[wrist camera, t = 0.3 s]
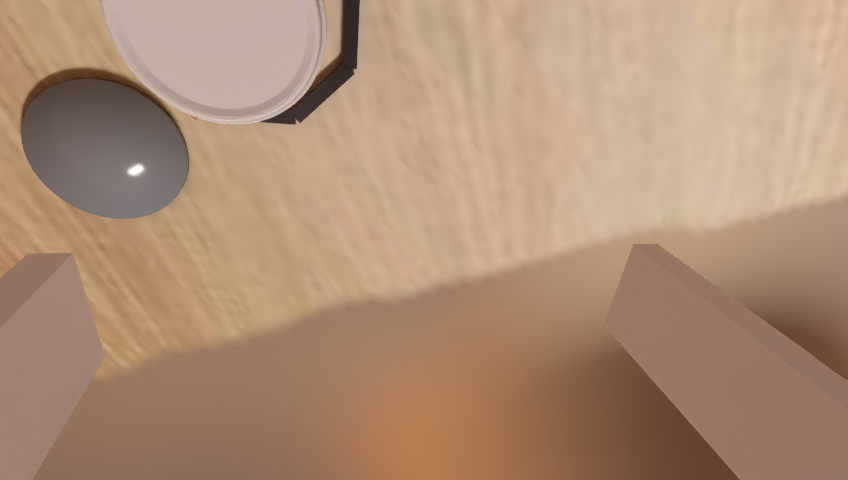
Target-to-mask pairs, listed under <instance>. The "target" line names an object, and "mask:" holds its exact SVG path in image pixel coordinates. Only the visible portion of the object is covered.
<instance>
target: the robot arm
mask: <svg viewBox="0 0 848 480" xmlns="http://www.w3.org/2000/svg"><path fill="white" fill-rule="evenodd" d="M604 325H605V327H606V328H607V329H608V330H609V331H610V332H611V333H612V335H613V336H614V337H615V338H616V339H617V340H618V341H619V343H620V344H621V345H622V346H623V347H624V348H625V349H626V350H627V352H628V353H629V354H630V355H631V356H632V357H633V358H634V360H635V361H636V362H637V363H638V364H639V365H640V366H641V368H642V369H643V370H644V371H645V372H646V373H647V374H648V376H650V378H651V379H652V380H653V381H654V382H655V383H656V385H657V386H658V387H659V388H660V389H661V390H662V391H663V393H664V394H665V395H666V396H667V397H668V398H669V399H670V401H672V403H673V404H674V405H675V406H676V407H677V408H678V410H679V411H680V412H681V413H682V414H683V415H684V416H685V418H686V419H687V420H688V421H689V422H690V423H691V424H692V425H693V427H694V428H695V429H696V430H697V431H698V432H699V433H700V435H701V436H702V437H703V438H704V439H705V440H706V441H707V443H708V444H709V445H710V446H711V447H712V448H713V449H714V451H716V453H717V454H718V455H719V456H720V457H721V458H722V459H723V461H724V462H725V463H726V464H727V465H728V466H729V468H730V469H731V470H732V471H733V472H734V473H735V474H736V476H737V477H738V478H739V479H740V480H848V381H847V380H846V379H845V378H844V377H843V376H841V375H840V374H838V373H837V372H835V371H834V370H833V369H831V368H830V367H829V366H827V365H826V364H824V363H823V362H822V361H820V360H819V359H817V358H815V357H814V356H812V355H811V354H810V353H808V352H807V351H805V350H804V349H803V348H801V347H800V346H798V345H797V344H795V343H794V342H793V341H792V340H790V339H789V338H787V337H786V336H785V335H783V334H782V333H780V332H779V331H777V330H776V329H775V328H773V327H772V326H771V325H769V324H768V323H766V322H765V321H764V320H762V319H761V318H760V317H758V316H757V315H755V314H754V313H753V312H751V311H750V310H748V309H747V308H746V307H744V306H743V305H741V304H740V303H738V302H737V301H736V300H735V299H733V298H732V297H730V296H729V295H727V294H726V293H725V292H723V291H722V290H721V289H719V288H718V287H716V286H715V285H713V284H712V283H710V282H709V281H708V280H707V279H705V278H704V277H703V276H701V275H700V274H698V273H697V272H696V271H694V270H693V269H691V268H690V267H689V266H687V265H686V264H684V263H683V262H682V261H680V260H679V259H677V258H676V257H675V256H673V255H672V254H670V253H669V252H668V251H666V250H665V249H663V248H662V247H661V246H659V245H658V244H633V247H632V250H631V252H630V255H629V258H628V261H627V263H626V266H625V269H624V271H623V274H622V277H621V280H620V282H619V285H618V288H617V291H616V294H615V296H614V299H613V302H612V304H611V307H610V310H609V313H608V315H607V318H606V321H605V324H604ZM104 358H105V354H104V351H103V348H102V344H101V341H100V338H99V335H98V332H97V328H96V325H95V322H94V319H93V316H92V312H91V309H90V306H89V303H88V300H87V296H86V293H85V290H84V287H83V284H82V280H81V277H80V274H79V271H78V267H77V264H76V261H75V258H74V255H73V253H46V254H27V255H26V256H25V257H24V258H23V259H22V260H21V261H19V262H18V263H17V264H16V265H15V266H14V267H13V268H11V269H10V270H9V271H8V272H7V273H6V274H5V275H3V276H2V277H1V278H0V480H32V479H33V477H34V475H35V474H36V472H37V470H38V469H39V467H40V465H41V463H42V462H43V460H44V459H45V457H46V455H47V454H48V452H49V450H50V448H51V447H52V445H53V444H54V442H55V440H56V438H57V437H58V435H59V433H60V432H61V430H62V428H63V427H64V425H65V423H66V422H67V420H68V418H69V417H70V415H71V413H72V412H73V410H74V408H75V407H76V405H77V403H78V402H79V400H80V398H81V397H82V395H83V393H84V392H85V390H86V388H87V386H88V385H89V383H90V381H91V380H92V378H93V376H94V375H95V373H96V371H97V370H98V368H99V366H100V365H101V363H102V361H103V360H104Z"/></svg>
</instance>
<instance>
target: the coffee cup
mask: <svg viewBox="0 0 848 480" xmlns="http://www.w3.org/2000/svg"><path fill="white" fill-rule="evenodd" d="M100 5H101V11H102V15H103V18H104V21H105V25H106V27H107V30H108V32H109V35H110V37H111V39H112V41H113V43H114V45H115V47H116V49H117V51H118V52H119V54H120V55H121V57H122V59H123V60H124V62H125V63H126V64H127V66H128V67H129V68H130V70H131V71H132V72H133V73H134V74H135V75H136V77H137V78H138V79H139V80H140V81H141V82H142V83H143V84H144V85H145V86H146V87H147V88H148V89H150V90H151V91H152V92H153V93H154V94H156V95H157V96H158V97H160V98H161V99H162V100H164V101H165V102H167V103H168V104H170V105H171V106H173V107H175V108H177V109H179V110H181V111H183V112H185V113H187V114H190V115H192V116H194V117H197V118H200V119H204V120H207V121H212V122H216V123H223V124H248V123H254V122H260V121H263V120H266V119H269V118H272V117H274V116H276V115H278V114H280V113H282V112H284V111H285V110H287V109H288V108H290V107H291V106H292V105H294V104H295V103H296V102H297V101H298V100H299V99H300V98H301V97H302V96H303V95H304V94H305V93H306V92H307V90H308V89H309V88H310V86H311V85H312V83H313V81H314V80H315V78H316V76H317V74H318V72H319V69H320V66H321V64H322V61H323V57H324V53H325V48H326V39H327V21H326V12H325V6H324V1H323V0H100Z"/></svg>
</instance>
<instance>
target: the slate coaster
mask: <svg viewBox="0 0 848 480" xmlns="http://www.w3.org/2000/svg"><path fill="white" fill-rule="evenodd" d="M21 137H22V144H23V149H24V152H25V155H26V157H27V160H28V162H29V164H30V165H31V167H32V169H33V170H34V172H35V173H36V175H37V176H38V177H39V179H40V180H41V181H42V182H43V183H44V184H45V185H46V186H47V187H48V188H49V189H50V190H51V191H52V192H53V193H55V194H56V195H57V196H59V197H60V198H61V199H63V200H64V201H66V202H68V203H69V204H71V205H73V206H75V207H77V208H79V209H81V210H84V211H86V212H89V213H92V214H95V215H99V216H103V217H109V218H120V219H126V218H137V217H143V216H146V215H150V214H152V213H155V212H157V211H159V210H161V209H162V208H164V207H166V206H167V205H168V204H169V203H171V202H172V201H173V199H174V198H175V197H176V196H177V195H178V194H179V192H180V191H181V189H182V188H183V186H184V183H185V181H186V178H187V175H188V169H189V155H188V150H187V146H186V143H185V140H184V138H183V136H182V134H181V132H180V130H179V128H178V127H177V125H176V124H175V122H174V121H173V119H172V118H171V117H170V116H169V115H168V113H167V112H166V111H165V110H164V109H163V108H161V107H160V106H159V105H158V104H157V103H156V102H154V101H153V100H152V99H151V98H149V97H147V96H146V95H144V94H143V93H141V92H139V91H137V90H135V89H133V88H131V87H129V86H126V85H123V84H121V83H117V82H114V81H110V80H104V79H97V78H82V79H73V80H69V81H65V82H62V83H59V84H56V85H54V86H51V87H49V88H48V89H46V90H44V91H43V92H41V93H40V94H39V95H38V96H37V97H36V98H35V99H34V100H33V101H32V102H31V104H30V105H29V106H28V108H27V110H26V112H25V115H24V118H23V121H22V129H21Z"/></svg>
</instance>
